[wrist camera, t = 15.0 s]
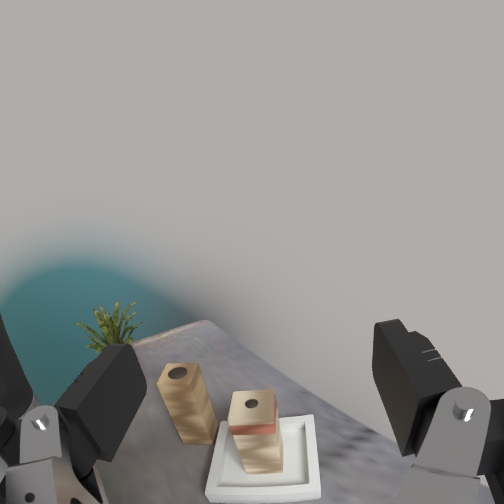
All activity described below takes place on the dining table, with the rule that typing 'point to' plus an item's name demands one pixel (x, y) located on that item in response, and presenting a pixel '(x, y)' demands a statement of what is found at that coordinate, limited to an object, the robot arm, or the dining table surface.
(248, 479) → the tray
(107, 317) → the house plant
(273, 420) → the maple post
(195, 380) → the oak post
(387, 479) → the dining table surface
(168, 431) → the dining table surface
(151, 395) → the dining table surface
